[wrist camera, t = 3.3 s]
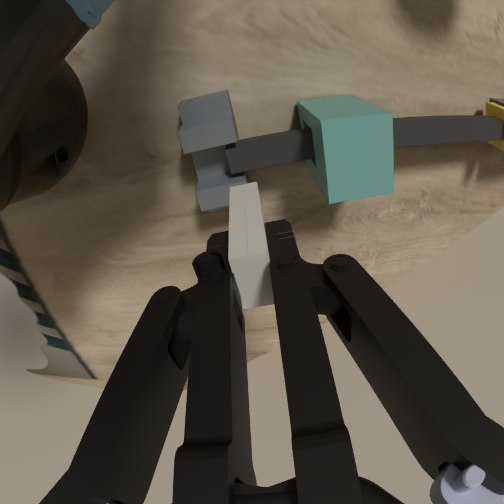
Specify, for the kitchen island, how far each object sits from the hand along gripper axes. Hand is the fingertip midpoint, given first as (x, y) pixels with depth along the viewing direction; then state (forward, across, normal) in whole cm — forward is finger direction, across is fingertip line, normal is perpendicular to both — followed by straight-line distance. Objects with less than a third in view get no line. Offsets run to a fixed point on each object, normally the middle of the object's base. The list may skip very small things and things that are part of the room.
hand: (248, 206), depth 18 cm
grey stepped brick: (+12, -2, 0) cm, 12 cm away
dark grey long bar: (+10, +16, 0) cm, 19 cm away
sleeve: (+12, +8, 0) cm, 14 cm away
